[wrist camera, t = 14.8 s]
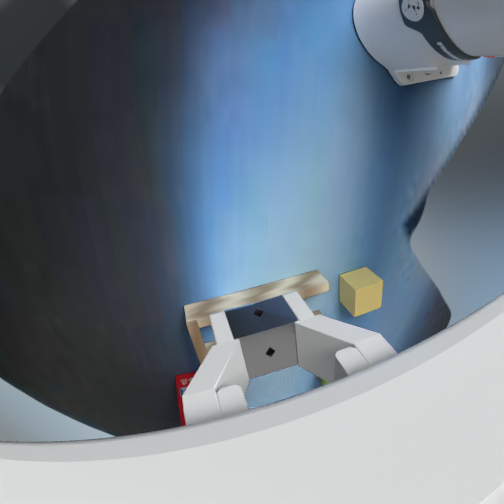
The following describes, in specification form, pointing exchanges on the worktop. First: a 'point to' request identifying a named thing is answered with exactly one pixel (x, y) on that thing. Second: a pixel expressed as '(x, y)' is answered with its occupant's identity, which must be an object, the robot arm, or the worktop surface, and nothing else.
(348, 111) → the worktop surface
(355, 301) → the block
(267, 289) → the u-shaped frame
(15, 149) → the worktop surface
